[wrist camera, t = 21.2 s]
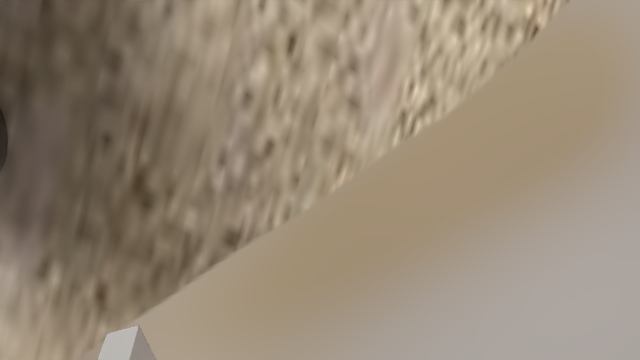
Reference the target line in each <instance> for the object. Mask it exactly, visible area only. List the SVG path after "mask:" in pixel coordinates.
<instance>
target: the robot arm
mask: <svg viewBox="0 0 640 360" xmlns="http://www.w3.org/2000/svg"><path fill="white" fill-rule="evenodd" d="M6 151H7V133H6V127H5V122H4V119H3V116H2V113H1V111H0V170H1V168H2V165H3V163H4V160H5V156H6ZM98 360H156V358H155V356H154V354H153V352H152V350H151V348H150V346H149V344H148V342H147V340H146V338H145V336H144V334H143V332H142V330H141V328H140V327H139V325H138V326H134V327H130V328H127V329H123V330H119V331H115V332H112V333H108V334H107V335H106V338H105V340H104V343H103V346H102V349H101V352H100V354H99V357H98Z"/></svg>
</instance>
